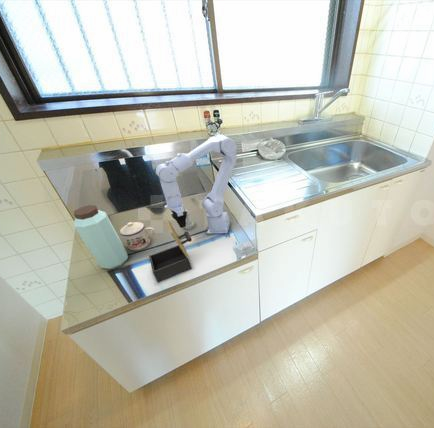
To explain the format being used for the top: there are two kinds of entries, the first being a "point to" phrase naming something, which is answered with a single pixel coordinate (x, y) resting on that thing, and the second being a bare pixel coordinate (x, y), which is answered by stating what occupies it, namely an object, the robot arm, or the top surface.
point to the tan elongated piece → (177, 238)
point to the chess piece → (188, 221)
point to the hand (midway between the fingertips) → (180, 222)
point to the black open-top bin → (169, 263)
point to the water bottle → (100, 237)
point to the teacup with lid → (136, 235)
